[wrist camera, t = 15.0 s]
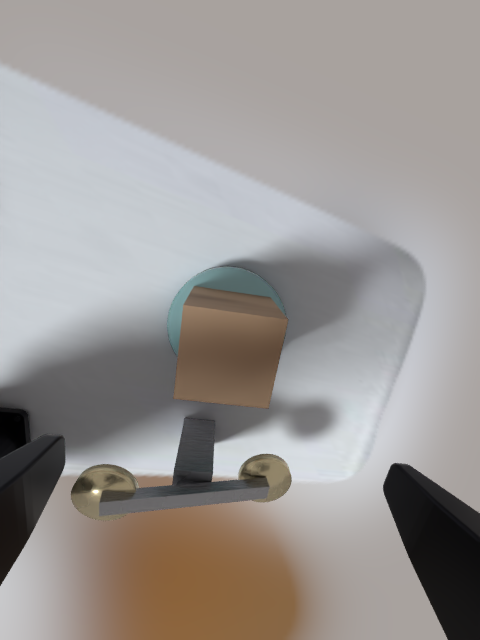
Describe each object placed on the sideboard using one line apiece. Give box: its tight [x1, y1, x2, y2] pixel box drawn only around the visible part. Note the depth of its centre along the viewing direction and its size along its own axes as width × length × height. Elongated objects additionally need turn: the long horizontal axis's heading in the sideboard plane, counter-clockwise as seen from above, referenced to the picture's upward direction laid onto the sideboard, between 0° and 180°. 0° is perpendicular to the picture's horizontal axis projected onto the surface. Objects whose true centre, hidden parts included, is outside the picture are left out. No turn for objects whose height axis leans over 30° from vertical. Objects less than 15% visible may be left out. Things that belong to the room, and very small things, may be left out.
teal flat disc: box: [167, 266, 286, 357], centre depth 19 cm, size 8×8×1 cm
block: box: [173, 286, 288, 409], centre depth 16 cm, size 5×5×5 cm
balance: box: [71, 418, 291, 521], centre depth 19 cm, size 4×13×7 cm, turn 81°
